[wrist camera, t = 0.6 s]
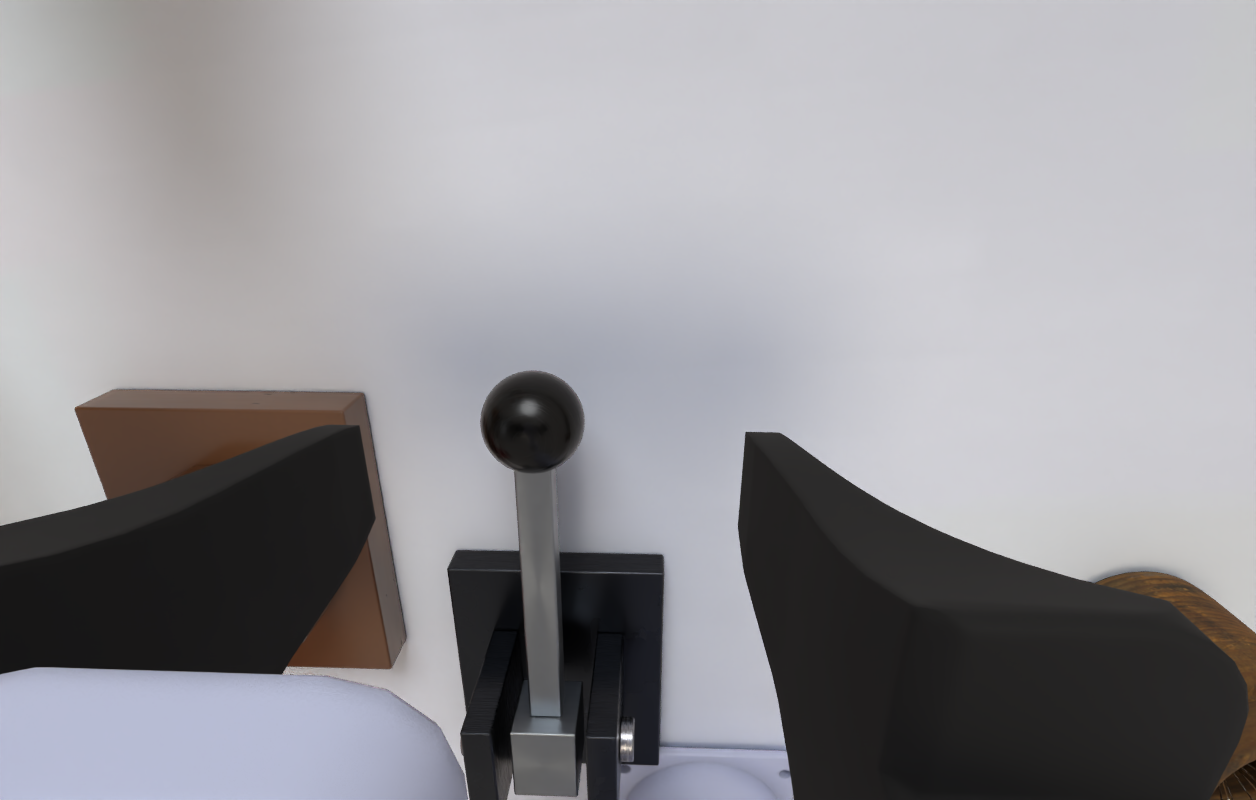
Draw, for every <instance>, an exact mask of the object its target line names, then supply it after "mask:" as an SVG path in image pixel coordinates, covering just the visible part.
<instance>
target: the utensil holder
mask: <svg viewBox="0 0 1256 800" xmlns="http://www.w3.org/2000/svg"><path fill="white" fill-rule="evenodd" d="M1095 584H1100V585H1104V586H1108V587H1112V588H1117V589H1121V590H1125V591H1129V592H1133V593H1138V594H1142V595H1146V596H1150V597H1155V598H1159V599H1163V600H1167V601H1169V602H1170V603H1171V604H1172V605H1174V606H1175V607H1176V608H1177V609H1178V610H1179V611H1180V612H1181V613H1182V614H1183V615H1184V616H1186V617H1187V618H1188V619H1189V620H1190V621H1191V622H1192V623H1193V624H1194V625H1195V626H1196V627H1198V628H1199V629H1200V630H1201V631H1202V632H1203V633H1204V634H1205V635H1206V636H1207V637H1209V638H1210V639H1211V640H1212V641H1213V642H1214V643H1215V644H1216V645H1217V646H1218V647H1219V648H1221V649H1222V650H1223V651H1224V652H1225V653H1226V654H1227V655H1228V656H1229V657H1230V658H1231V659H1233V660H1234V661H1235V663H1236V665H1237V667H1238V668H1239V670H1240V672H1241V674H1242V676H1243V678H1244V680H1245V682H1246V683H1247V690H1248V705H1249V712H1248V716H1247V720H1246V723H1245V726H1244V729H1243V732H1242V735H1241V738H1240V741H1239V743H1238V745H1237V747H1236V749H1235V751H1234V753H1233V755H1232V757H1231V759H1230V761H1229V763H1228V765H1227V767H1226V769H1225V771H1224V772H1223V774H1222V776H1221V778H1220V780H1219V782H1218V784H1217V786H1216V788H1215V790H1214V792H1213V794H1212V796H1211V798H1210V800H1256V633H1255V632H1253V631H1252V630H1251V629H1250V628H1249V627H1247V626H1246V625H1245V624H1244V623H1242V622H1241V621H1240V620H1239V619H1238V618H1236V617H1235V616H1234V615H1233V614H1231V613H1230V612H1229V611H1228V610H1227V609H1225V608H1224V607H1223V606H1221V605H1220V604H1219V603H1218V602H1216V601H1215V600H1214V599H1212V598H1211V597H1210V596H1209V595H1207V594H1206V593H1204V592H1203V591H1201V590H1200V589H1198V588H1197V587H1195V586H1194V585H1192V584H1190V583H1188V582H1186V581H1184V580H1182V579H1180V578H1177V577H1175V576H1171V575H1168V574H1164V573H1158V572H1131V573H1124V574H1120V575H1115V576H1112V577H1109V578H1106V579H1103V580H1101V581H1099V582H1097V583H1095Z"/></svg>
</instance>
